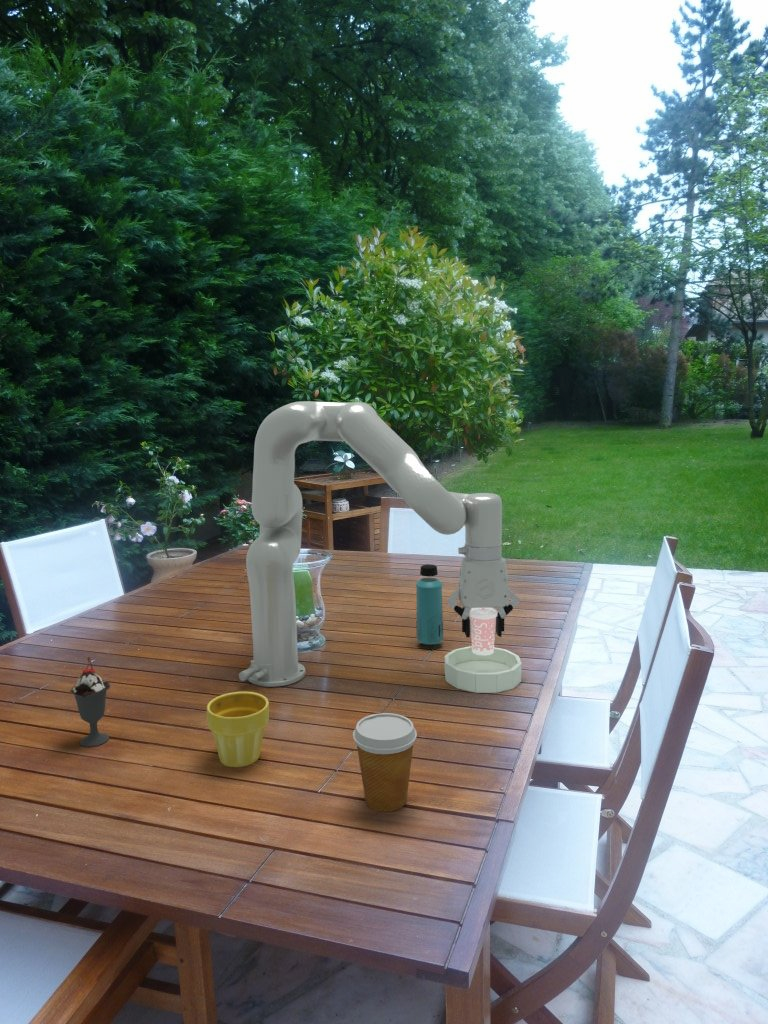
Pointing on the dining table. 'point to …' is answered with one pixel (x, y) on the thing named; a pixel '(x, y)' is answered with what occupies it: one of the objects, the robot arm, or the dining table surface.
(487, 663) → the bowl
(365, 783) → the disposable coffee cup
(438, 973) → the dining table surface
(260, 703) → the plant pot
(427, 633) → the beverage bottle
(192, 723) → the dining table surface
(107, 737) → the sundae
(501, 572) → the robot arm
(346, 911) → the dining table surface
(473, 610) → the beverage cup
